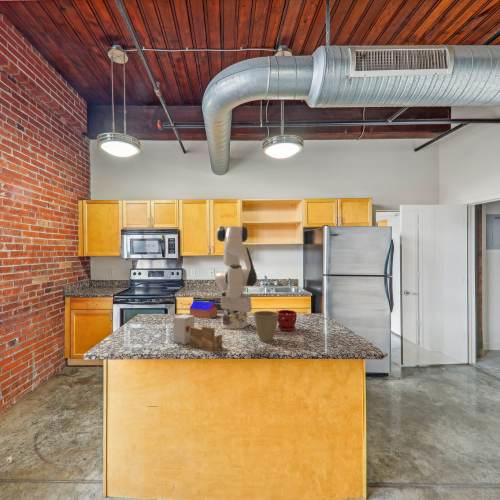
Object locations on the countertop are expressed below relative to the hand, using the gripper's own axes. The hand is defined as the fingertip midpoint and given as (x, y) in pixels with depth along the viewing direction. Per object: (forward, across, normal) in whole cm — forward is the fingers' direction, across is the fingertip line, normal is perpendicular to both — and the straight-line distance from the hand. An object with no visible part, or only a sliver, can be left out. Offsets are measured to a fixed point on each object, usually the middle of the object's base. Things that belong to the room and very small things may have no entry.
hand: (236, 318), depth 164 cm
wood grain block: (+16, +9, +9) cm, 20 cm away
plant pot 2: (+17, -5, -47) cm, 51 cm away
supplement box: (+16, +31, +12) cm, 37 cm away
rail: (+2, 0, 0) cm, 2 cm away
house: (+17, +72, -43) cm, 85 cm away
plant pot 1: (+16, -7, -19) cm, 26 cm away
